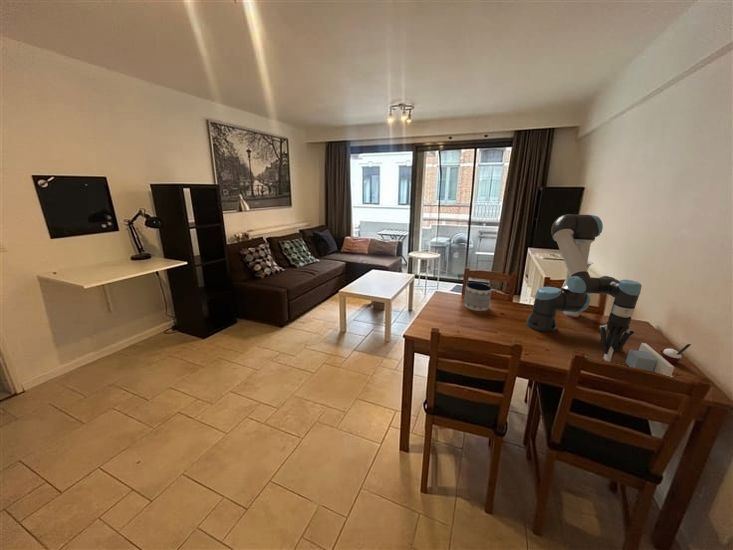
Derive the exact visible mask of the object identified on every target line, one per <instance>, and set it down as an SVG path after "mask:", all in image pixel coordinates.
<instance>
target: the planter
mask: <svg viewBox="0 0 733 550" xmlns="http://www.w3.org/2000/svg"><path fill="white" fill-rule="evenodd" d="M492 289H493V288H492V287H491V286H490V285H489V284H486V283H481V282H469V283H466V285H465V291H464V299H463V307H464V308H467V309H469V310H471V311H475V312H484V311H487V310H489V308H490V304H491V303H490V301H491V297H492V296H491V295H492Z"/></svg>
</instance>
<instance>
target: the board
mask: <svg viewBox="0 0 733 550" xmlns="http://www.w3.org/2000/svg"><path fill="white" fill-rule="evenodd" d="M638 351H644V352H648V353H649V354H650V355H652V356H653V357H654V358H655V359H656V360H657V362H656V365H655V367H654V370H653V372H656V373H660V374H663V375H666V376H670V377H674V376H673V372H674V369H675V366H674V365H673V364H672V363H669V362H668V361H666V360H665V359H664V358H663V357H662V355H661V354H660V353H658V352H657V351H655V350H654V349H653V347H651V346H650V345H649V344H648V343H645V342H641V344H640V346H639V348H638Z"/></svg>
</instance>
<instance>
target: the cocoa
mask: <svg viewBox="0 0 733 550" xmlns="http://www.w3.org/2000/svg"><path fill="white" fill-rule="evenodd" d="M691 345H692V344H691V343H687V344H686V345H685V346H684V347H682V348H681V349H680V350H679V351H677V350H676V349H673V348H665V349H664V350H660V356H662V357H663V358H664V359H665V360H666V361H668V362H669V363H670V364H677V363H678V362H680V360H681V359H682V357H683V356H682V354H683V352H685V351H686V350H687V349H688V348H690V346H691Z"/></svg>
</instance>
